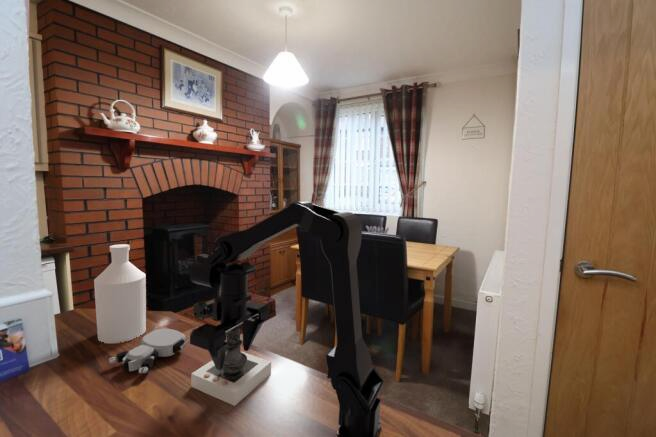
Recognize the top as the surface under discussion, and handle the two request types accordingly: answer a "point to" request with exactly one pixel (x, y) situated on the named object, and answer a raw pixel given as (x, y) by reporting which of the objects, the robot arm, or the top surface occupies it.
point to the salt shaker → (233, 357)
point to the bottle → (120, 299)
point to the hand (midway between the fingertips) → (233, 359)
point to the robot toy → (151, 349)
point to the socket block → (225, 389)
